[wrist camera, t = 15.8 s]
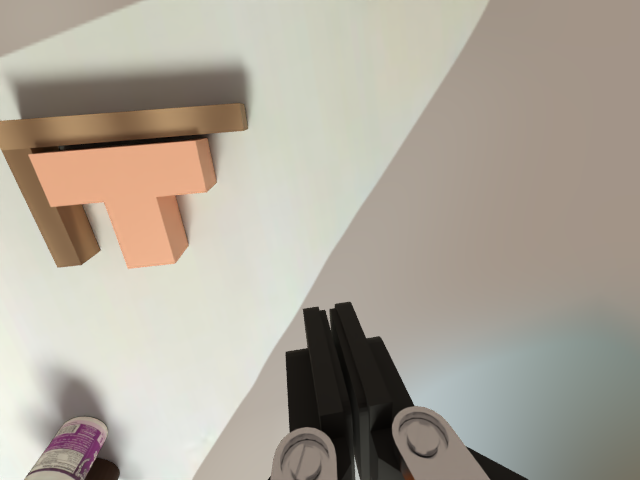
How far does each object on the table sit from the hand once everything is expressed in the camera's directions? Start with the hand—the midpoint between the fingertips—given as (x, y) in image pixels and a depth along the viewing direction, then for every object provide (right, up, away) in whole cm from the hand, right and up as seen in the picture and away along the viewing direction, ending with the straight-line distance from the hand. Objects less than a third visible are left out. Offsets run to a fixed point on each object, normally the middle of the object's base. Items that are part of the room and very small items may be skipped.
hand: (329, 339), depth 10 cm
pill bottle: (-30, -21, +28) cm, 46 cm away
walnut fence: (-15, +8, +17) cm, 24 cm away
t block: (-16, +7, +17) cm, 25 cm away
